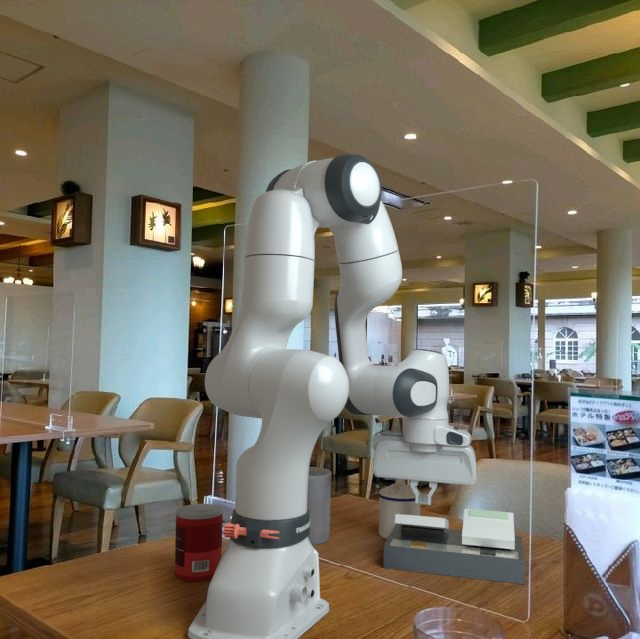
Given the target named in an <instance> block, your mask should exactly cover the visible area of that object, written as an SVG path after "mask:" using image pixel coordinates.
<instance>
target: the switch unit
mask: <svg viewBox="0 0 640 639" xmlns="http://www.w3.org/2000/svg"><path fill="white" fill-rule="evenodd" d="M462 530H463V529H462ZM462 530H460V529H451V528H449V529H441V528H431V527H420V526H410V525H401V524H396V525H395V526H394V528H393V530H392V532H391V534H390V535H389V537H388V539H386V541H385V542H384V544H383V569H389V570H397V571H398V570H399V571H407V572H415V573H425V574H432V575H440V576H450V577H458V578H467V579H474V580H476V579H477V580H485V581H493V582H499V583H507V584H508V583H512V584H517V585H518V584H519V585H525V567H526V566H525V553H524V548H523V547H524V545H523V539H522V535H515V550H514V549H505V548H495V547H485V546H476V545H466V544H462Z"/></svg>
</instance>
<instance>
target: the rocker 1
mask: <svg viewBox="0 0 640 639" xmlns="http://www.w3.org/2000/svg"><path fill="white" fill-rule="evenodd" d="M395 523H397V524H401V525H410V526H420V527H431V528H441V529H450V528H449V527H450V525H449V524H450V521H449V520H448V519H447V518H445V517H444V518H443V517H439V516H438V517H436V516H427V515H426V516H425V515H421V516H416V515H401V514H396V515H395Z"/></svg>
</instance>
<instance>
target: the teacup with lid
mask: <svg viewBox="0 0 640 639" xmlns="http://www.w3.org/2000/svg"><path fill="white" fill-rule="evenodd" d="M394 482H395V483H392V484H390V485H389V486H386V487H382V488H381V489H379V491H378V493H377V494H378V496H379V500H378V501H379V503H378V504H379V506H378V512H379V515H378V534H379V536H380V537H382V539H385V540H387V539H388V537H389V535H390V534H391V532H392V530H393V528H394V526H395V525H396V524H397V523H395V515H396V514H401V515H416V516H422V515H421V514H422V512H421V510H422V509H421V508H422V507H421V506H422V504H416V503H415V498H416V495H415V494H414V492H413V490H412V488H411V486H410V485H409V484H406V481H405V480H404V479H395V481H394ZM419 492H420V494H422V492H421V491H420V490H419Z"/></svg>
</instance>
